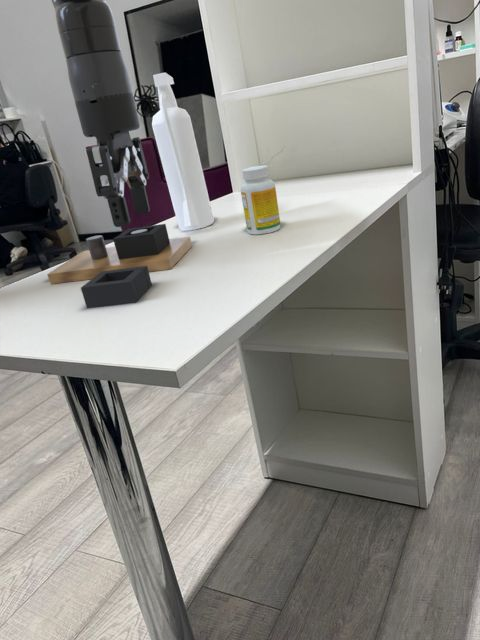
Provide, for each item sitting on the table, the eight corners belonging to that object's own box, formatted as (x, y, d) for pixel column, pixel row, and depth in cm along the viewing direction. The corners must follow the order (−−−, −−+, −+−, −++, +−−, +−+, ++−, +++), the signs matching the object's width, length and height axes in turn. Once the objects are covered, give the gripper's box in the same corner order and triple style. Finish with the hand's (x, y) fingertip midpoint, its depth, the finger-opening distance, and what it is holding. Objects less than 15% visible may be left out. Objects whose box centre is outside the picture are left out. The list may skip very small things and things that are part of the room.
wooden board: (50, 284, 77) (40, 253, 75) (85, 259, 87) (77, 232, 85) (171, 269, 73) (163, 236, 71) (192, 245, 84) (185, 217, 82)
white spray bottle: (170, 238, 92) (131, 75, 82) (182, 223, 103) (149, 78, 92) (208, 232, 91) (175, 67, 81) (216, 217, 102) (188, 70, 92)
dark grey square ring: (88, 312, 62) (80, 287, 61) (107, 294, 67) (101, 271, 66) (137, 306, 61) (130, 281, 60) (153, 289, 66) (147, 265, 65)
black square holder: (118, 259, 77) (112, 239, 76) (132, 248, 82) (127, 228, 81) (158, 254, 76) (153, 233, 75) (170, 243, 81) (165, 223, 80)
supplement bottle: (241, 235, 85) (229, 172, 81) (260, 226, 89) (250, 165, 85) (268, 235, 82) (258, 170, 78) (287, 225, 86) (278, 163, 82)
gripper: (98, 98, 77) (126, 212, 84) (51, 100, 65) (88, 234, 71) (147, 90, 76) (172, 206, 83) (109, 90, 63) (142, 227, 70)
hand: (133, 219), depth 77 cm, fingers open, 8 cm apart
